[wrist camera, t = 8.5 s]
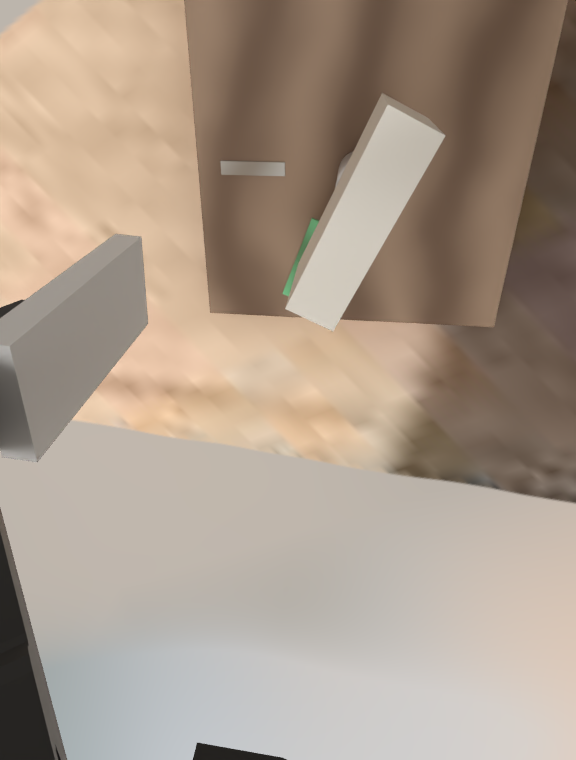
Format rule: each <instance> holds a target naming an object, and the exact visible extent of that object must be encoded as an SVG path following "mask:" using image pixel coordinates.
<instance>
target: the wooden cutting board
mask: <svg viewBox="0 0 576 760" xmlns="http://www.w3.org/2000/svg"><path fill="white" fill-rule="evenodd" d="M184 2H185V14H186V26H187V38H188V50H189V62H190V74H191V87H192V99H193V111H194V123H195V135H196V147H197V159H198V171H199V183H200V195H201V207H202V219H203V231H204V243H205V255H206V267H207V279H208V292H209V304H210V313H226V314H246V315H265V316H285V317H301V316H299V315H297V314H295V313H293V312H291V311H289V310H286V309H285V308H286V304H287V301H288V297H289V294H290V291H291V287H292V284H293V280H294V277H295V273H296V270H297V267H298V263H299V261H300V259H301V257H302V255H303V253H304V251H305V249H306V247H307V245H308V243H309V241H310V239H311V237H312V235H313V233H314V231H315V229H316V227H317V225H318V223H319V220H320V218H321V216H322V214H323V212H324V210H325V208H326V206H327V204H328V202H329V200H330V198H331V196H332V194H333V192H334V190H335V186H336V181H337V175H338V170H339V166H340V163H341V161H342V159H343V158H344V157H345V156H346V155H347V154H349V153H350V152H352V151H354V149H355V147H356V145H357V143H358V141H359V139H360V137H361V135H362V133H363V131H364V129H365V127H366V125H367V123H368V121H369V119H370V117H371V115H372V113H373V111H374V108H375V106H376V104H377V102H378V100H379V98H380V96H381V94H382V93H383V94H385V95H387V96H389V97H391V98H392V99H394V100H396V101H398V102H400V103H402V104H403V105H405V106H407V107H409V108H411V109H413V110H415V111H416V112H418V113H420V114H422V115H424V116H426V117H427V118H429V119H430V120H431V121H432V122H433V123H434V124H435V125H436V126H437V127H438V128H439V129H440V130H441V131H442V132H443V133H444V135H445V138H444V139H443V141H442V143H441V144H440V146H439V148H438V150H437V151H436V153H435V155H434V157H433V158H432V160H431V162H430V164H429V165H428V167H427V169H426V171H425V172H424V174H423V176H422V178H421V179H420V181H419V183H418V184H417V186H416V188H415V190H414V191H413V193H412V195H411V197H410V198H409V200H408V202H407V204H406V205H405V207H404V209H403V211H402V212H401V214H400V216H399V218H398V219H397V221H396V223H395V224H394V226H393V228H392V230H391V231H390V233H389V235H388V237H387V238H386V240H385V242H384V244H383V245H382V247H381V249H380V251H379V252H378V254H377V256H376V258H375V259H374V261H373V263H372V264H371V266H370V268H369V270H368V271H367V273H366V275H365V277H364V278H363V280H362V282H361V284H360V285H359V287H358V289H357V291H356V292H355V294H354V296H353V298H352V299H351V301H350V303H349V304H348V306H347V308H346V310H345V311H344V313H343V315H342V317H341V318H340V319H344V320H364V321H384V322H403V323H423V324H443V325H462V326H482V327H494V324H495V319H496V315H497V311H498V306H499V302H500V297H501V293H502V289H503V284H504V280H505V276H506V271H507V267H508V262H509V258H510V254H511V249H512V245H513V241H514V236H515V232H516V227H517V223H518V219H519V214H520V210H521V205H522V201H523V197H524V192H525V188H526V184H527V179H528V175H529V170H530V166H531V162H532V157H533V153H534V149H535V144H536V140H537V135H538V131H539V127H540V122H541V118H542V113H543V109H544V105H545V100H546V96H547V92H548V87H549V83H550V78H551V74H552V70H553V65H554V61H555V56H556V52H557V48H558V43H559V39H560V35H561V30H562V26H563V21H564V17H565V13H566V8H567V4H568V0H184Z"/></svg>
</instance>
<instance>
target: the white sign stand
mask: <svg viewBox="0 0 576 760" xmlns="http://www.w3.org/2000/svg"><path fill="white" fill-rule="evenodd" d="M444 138H445V135H444V133H443V132H442V131H441V130H440V129H439V128H438V127H437V126H436V125H435V124H434V123H433V122H432V121H431V120H430V119H429V118H427V117H426V116H424V115H422V114H420V113H418V112H416V111H415V110H413V109H411V108H409V107H407V106H405V105H403V104H402V103H400V102H398V101H396V100H394V99H392V98H391V97H389V96H387V95H385V94H383V93H382V94H381V96H380V98H379V100H378V102H377V104H376V106H375V108H374V111H373V113H372V115H371V117H370V119H369V121H368V123H367V125H366V127H365V129H364V131H363V133H362V135H361V137H360V139H359V141H358V143H357V145H356V147H355V149H354V151H352V152H350V153H349V154H347V155H346V156H345V157H344V158H343V159H342V161H341V163H340V166H339V170H338V175H337V181H336V186H335V190H334V192H333V194H332V196H331V198H330V200H329V202H328V204H327V206H326V208H325V210H324V212H323V214H322V216H321V218H320V220H319V223H318V225H317V227H316V229H315V231H314V233H313V235H312V237H311V239H310V241H309V243H308V245H307V247H306V249H305V251H304V253H303V255H302V257H301V259H300V261H299V263H298V267H297V270H296V273H295V277H294V280H293V284H292V287H291V291H290V294H289V297H288V301H287V304H286V308H285V309H286V310H289V311H291V312H293V313H295V314H297V315H299V316H301V317H303V318H306V319H308V320H310V321H312V322H314V323H316V324H318V325H320V326H322V327H325V328H327V329H329V330H331V331H334V329H335V327H336V325H337V324H338V322H339V320H340V318H341V317H342V315H343V313H344V311H345V310H346V308H347V306H348V304H349V303H350V301H351V299H352V298H353V296H354V294H355V292H356V291H357V289H358V287H359V285H360V284H361V282H362V280H363V278H364V277H365V275H366V273H367V271H368V270H369V268H370V266H371V264H372V263H373V261H374V259H375V258H376V256H377V254H378V252H379V251H380V249H381V247H382V245H383V244H384V242H385V240H386V238H387V237H388V235H389V233H390V231H391V230H392V228H393V226H394V224H395V223H396V221H397V219H398V218H399V216H400V214H401V212H402V211H403V209H404V207H405V205H406V204H407V202H408V200H409V198H410V197H411V195H412V193H413V191H414V190H415V188H416V186H417V184H418V183H419V181H420V179H421V178H422V176H423V174H424V172H425V171H426V169H427V167H428V165H429V164H430V162H431V160H432V158H433V157H434V155H435V153H436V151H437V150H438V148H439V146H440V144H441V143H442V141H443V139H444Z"/></svg>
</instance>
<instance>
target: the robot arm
mask: <svg viewBox="0 0 576 760" xmlns="http://www.w3.org/2000/svg"><path fill="white" fill-rule="evenodd" d="M147 324H148V315H147V302H146V289H145V277H144V264H143V251H142V238H141V237H139V236H130V235H121V234H115V235H113V236H112V237H110V238H109V239H108V240H106V241H105V242H104V243H102V244H101V245H100V246H98V247H97V248H95V249H94V250H93V251H91V252H90V253H89V254H87V255H86V256H85V257H83V258H82V259H80V260H79V261H78V262H76V263H75V264H74V265H72V266H71V267H70V268H68V269H67V270H65V271H64V272H63V273H61V274H60V275H59V276H57V277H56V278H55V279H53V280H52V281H50V282H49V283H48V284H46V285H45V286H44V287H42V288H41V289H40V290H38V291H37V292H35V293H34V294H33V295H31V296H30V297H29V298H27V299H26V300H20V301H17V302H14V303H12V304H9V305H6V306H4V307H1V308H0V451H1V454H2V457H4V458H11V459H19V460H26V461H32V462H38V461H39V459H40V458H41V457H42V456H43V455H44V453H45V452H46V451H47V450H48V448H49V447H50V446H51V445H52V443H53V442H54V441H55V439H56V438H57V437H58V436H59V434H60V433H61V432H62V431H63V430H64V428H65V427H66V426H67V424H68V423H69V422H70V421H71V420H72V418H73V417H74V416H75V415H76V413H77V412H78V411H79V410H80V408H81V407H82V406H83V405H84V403H85V402H86V401H87V400H88V398H89V397H90V396H91V395H92V393H93V392H94V391H95V389H96V388H97V387H98V386H99V384H100V383H101V382H102V381H103V379H104V378H105V377H106V376H107V374H108V373H109V372H110V371H111V369H112V368H113V367H114V366H115V364H116V363H117V362H118V361H119V359H120V358H121V357H122V356H123V354H124V353H125V352H126V351H127V349H128V348H129V347H130V346H131V344H132V343H133V342H134V341H135V339H136V338H137V337H138V336H139V334H140V333H141V332H142V331H143V329H144V328H145V327H146V326H147ZM0 760H67V758H66V754H65V750H64V746H63V743H62V739H61V735H60V731H59V727H58V724H57V720H56V716H55V712H54V709H53V705H52V701H51V697H50V694H49V690H48V686H47V682H46V678H45V675H44V671H43V667H42V663H41V660H40V657H39V652H38V649H37V645H36V641H35V637H34V633H33V629H32V626H31V622H30V618H29V615H28V611H27V607H26V603H25V600H24V595H23V592H22V588H21V584H20V580H19V577H18V573H17V569H16V565H15V562H14V558H13V554H12V550H11V546H10V543H9V539H8V535H7V531H6V528H5V524H4V520H3V516H2V513H1V509H0ZM193 760H286V759H284V758H281V757H274V756H269V755H264V754H258V753H252V752H247V751H241V750H235V749H230V748H225V747H219V746H213V745H207V744H202V743H197V745H196V750H195V754H194V758H193Z"/></svg>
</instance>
